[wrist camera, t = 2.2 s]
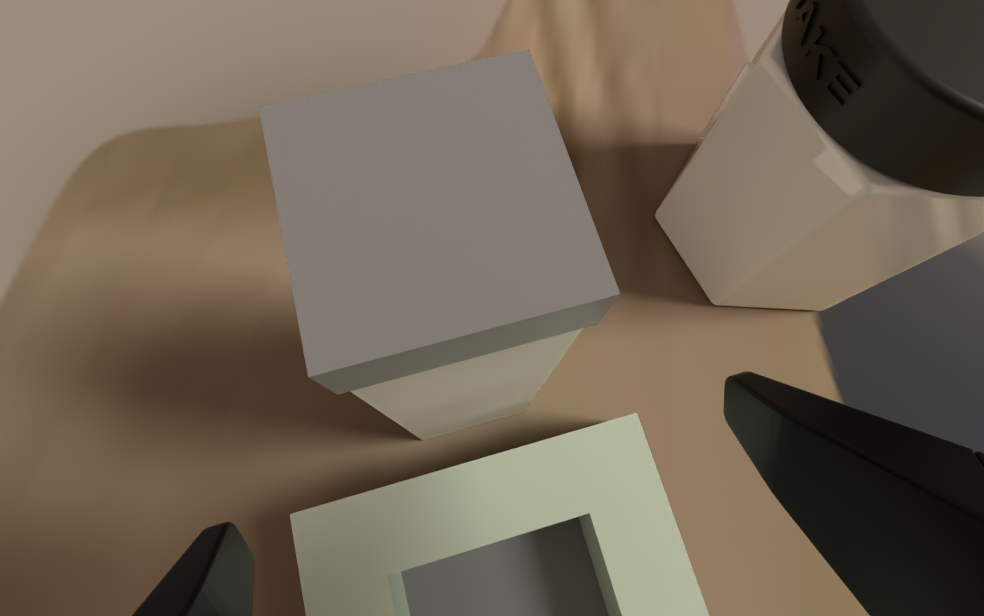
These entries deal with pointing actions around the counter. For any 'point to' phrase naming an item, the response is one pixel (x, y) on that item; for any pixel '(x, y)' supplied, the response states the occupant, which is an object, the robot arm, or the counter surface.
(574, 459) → the socket
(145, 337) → the counter surface
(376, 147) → the plug
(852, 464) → the robot arm
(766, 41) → the jar
